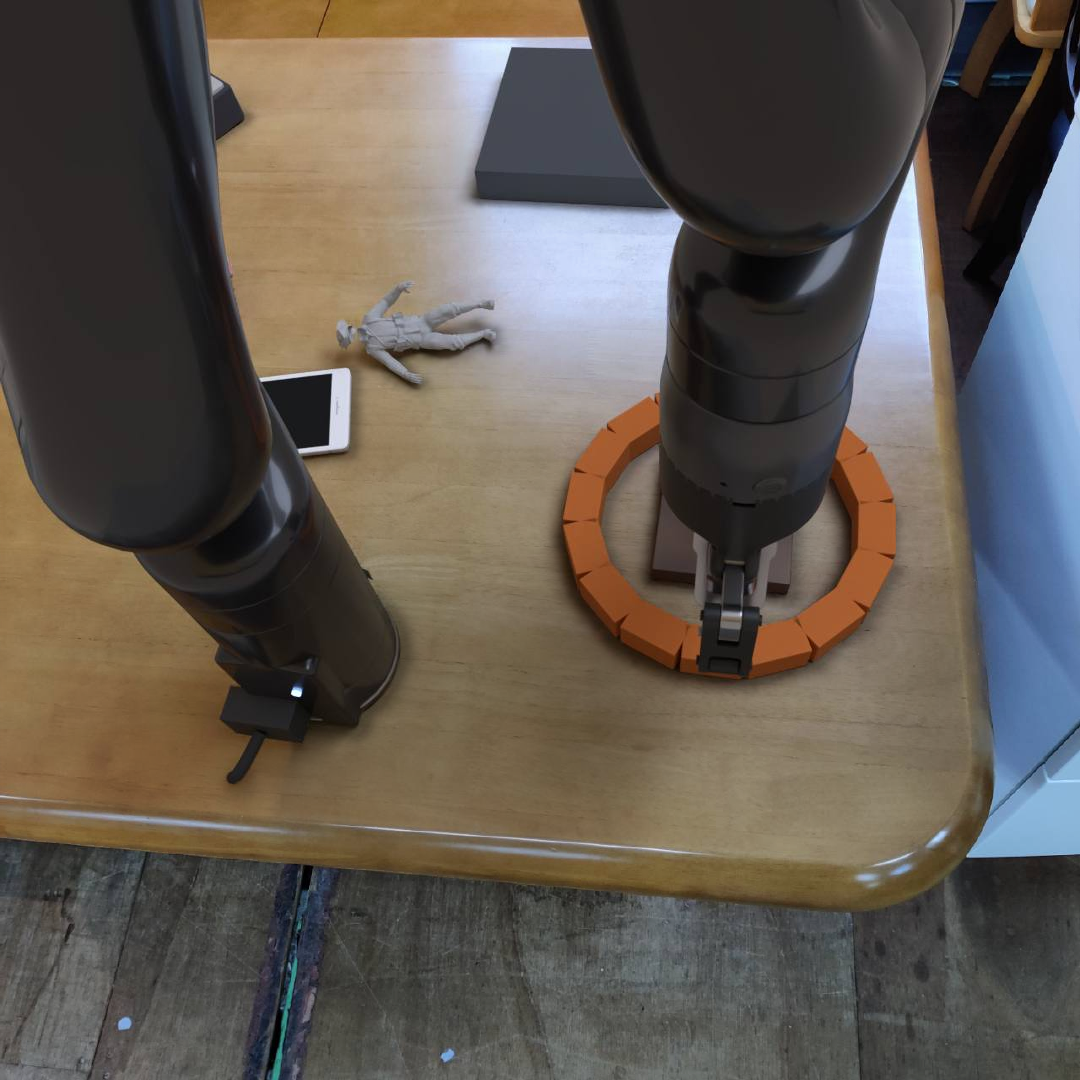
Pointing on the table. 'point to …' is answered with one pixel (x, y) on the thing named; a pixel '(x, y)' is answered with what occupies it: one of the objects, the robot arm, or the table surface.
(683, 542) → the post
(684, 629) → the ring
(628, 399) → the table surface
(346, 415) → the cell phone
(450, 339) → the soldier figure
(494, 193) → the stand
